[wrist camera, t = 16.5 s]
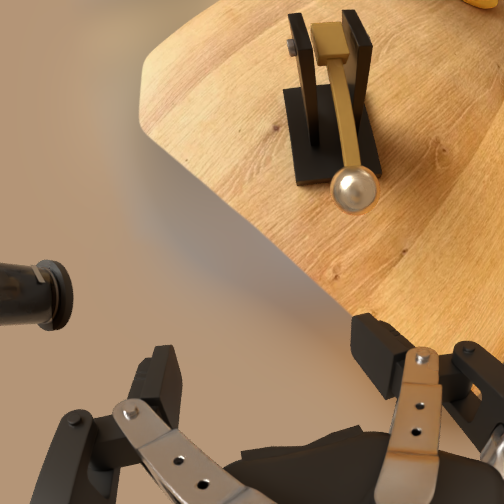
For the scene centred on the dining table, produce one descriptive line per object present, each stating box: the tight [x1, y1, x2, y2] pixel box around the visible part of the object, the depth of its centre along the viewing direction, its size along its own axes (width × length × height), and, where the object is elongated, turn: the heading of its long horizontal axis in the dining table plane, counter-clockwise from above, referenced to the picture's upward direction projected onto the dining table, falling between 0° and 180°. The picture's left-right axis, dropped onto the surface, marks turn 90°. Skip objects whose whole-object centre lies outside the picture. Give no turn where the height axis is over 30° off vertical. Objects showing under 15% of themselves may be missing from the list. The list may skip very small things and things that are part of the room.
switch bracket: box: [283, 10, 382, 186], centre depth 23 cm, size 12×9×16 cm
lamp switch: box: [311, 22, 380, 216], centre depth 18 cm, size 14×4×4 cm, turn 4°
